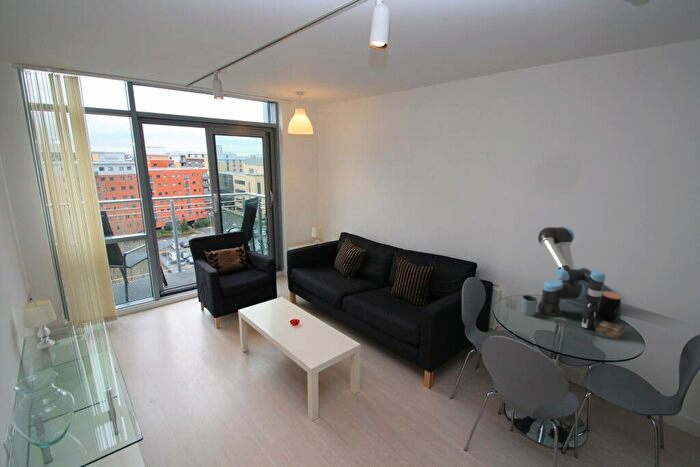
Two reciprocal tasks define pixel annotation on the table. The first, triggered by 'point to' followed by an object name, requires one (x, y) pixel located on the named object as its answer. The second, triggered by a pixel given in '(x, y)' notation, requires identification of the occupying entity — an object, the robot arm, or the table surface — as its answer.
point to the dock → (610, 329)
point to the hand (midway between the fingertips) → (587, 323)
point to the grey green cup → (529, 305)
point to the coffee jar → (609, 306)
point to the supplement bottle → (590, 321)
